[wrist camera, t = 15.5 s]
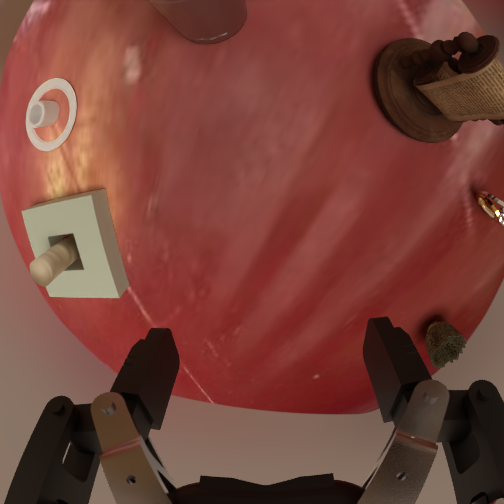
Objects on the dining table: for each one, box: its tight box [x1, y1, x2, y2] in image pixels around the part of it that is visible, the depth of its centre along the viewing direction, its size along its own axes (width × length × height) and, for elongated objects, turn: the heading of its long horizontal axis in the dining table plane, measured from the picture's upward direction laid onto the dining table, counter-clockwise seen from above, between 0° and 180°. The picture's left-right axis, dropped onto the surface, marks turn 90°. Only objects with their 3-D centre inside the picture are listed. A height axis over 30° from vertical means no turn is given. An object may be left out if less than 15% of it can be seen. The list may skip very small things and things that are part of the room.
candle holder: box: [26, 78, 77, 152], centre depth 30 cm, size 12×12×4 cm
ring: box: [476, 191, 504, 226], centre depth 31 cm, size 7×3×8 cm, turn 52°
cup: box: [425, 320, 466, 369], centre depth 41 cm, size 8×7×8 cm
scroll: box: [374, 32, 504, 143], centre depth 20 cm, size 15×15×20 cm
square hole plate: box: [22, 189, 129, 298], centre depth 39 cm, size 16×16×4 cm
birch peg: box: [30, 233, 80, 287], centre depth 36 cm, size 4×4×11 cm
